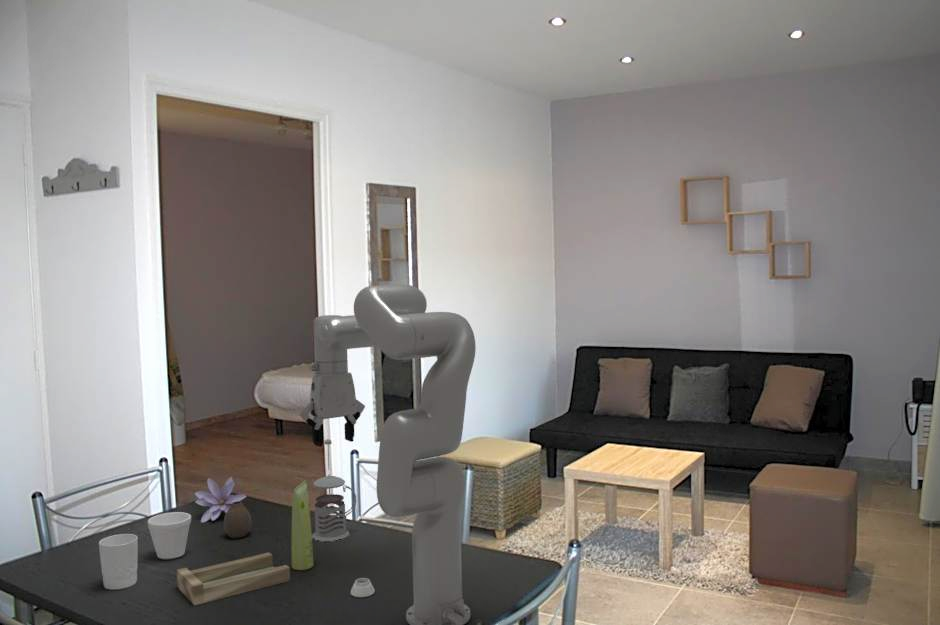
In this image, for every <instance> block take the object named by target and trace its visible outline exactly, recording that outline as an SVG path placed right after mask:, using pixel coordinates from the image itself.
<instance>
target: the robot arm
mask: <svg viewBox="0 0 940 625" xmlns="http://www.w3.org/2000/svg"><path fill="white" fill-rule="evenodd" d="M427 307H428V304H427V298H426V296H425V294H424V292H422V291H421V290H420V289H419V288H418V287H416V286H413V285H410V284H404V283H403V284H402V283H401V284H400V283H399V284H381V285H380V284H378V285H368V286H365V287H363V288H362V289H361V290H360V291H359V292H358V293H357V295H356V296H355V299H354V302H353V314H354V315H353V314H352V315H343V316H342V315H339V314H337V315H336V314H334V315H333V314H329V315H327V314H325V315H320V316H316V317H315V319H314V320H313V338H314V341H313V342H314V361H313V364H310V366H309V370H310V372H314V374H313V375H312V379H311V386H310V394H309V395H310V396H309V403H308V404H307V405H306V406H305V407H303V409H302V410H301V411H300V412H299V416H300V418H301V419H302V420H303V421H304V422H305V423H306V425H308V426H309V427H310V428H311V431H312V435H311V436H312V442H313V444H314V446H317V447H319V448H320V447H322V446H323V445H324V444H323V430H322V429H321V426H322V424H323V422H324V420H326V419H327V420H328V419H335V418H336V419H337V418H341V417H343V418H344V420H345V421H346V422H345V423H344V440H346V441H348V442H351V443H352V442H354V437H355V425H356V423H357V421H358V420H359V418H360V417H361V414H362V413H363V411H364V410H365V408H366V406H365V404H364V403H362V402H361V401H359V400H358V399H357V397H356V396H357V394H356V387H355V383H354V382H355V381H354V379H353V375H352V373H351V372H349V365H348V364H349V362H348V350H350V349H363V348H373V347H377V348H378V349H379V350H380V351H381V352H382V353H383V355H385V356H387V357H388V358H389V359H392V360H396V361H397V360H398V361H404V360H412V359H414V360H415V359H423V358H431V357H436V361H435V362H434V363H433V364H432V365H431V367H430V368H429V370H428V371H427V373H426V376H424V379H423V382H422V385H421V386H422V387H421V397H420V403H419V405H418V406H417V407H416V408H412V409H411V408H410V409H406V410H405V409H404V410H399V411H397V412H393V413H392V414H391V415H389V416H388V417H387V419H386V420H385V421H384V423H383V425H382V428H381V430H380V431H381V432H380V437H379V447H378V461H377V462H378V463H377V470H376V471H377V473H376V497H377V502H378V505H379V507H380V509H381V510H382V511H383V513H384V514H385V515H387V516H389V517H393V518H398V517H399V518H401V517H406V516H409V515H415V514H416V516H415V519H414V521H413V526H412V528H411V529H412V531H411V541H412V542H411V543H412V545H411V546H412V547H411V550H412V553H411V555H412V582H413V583H412V586H413V589H412V590H413V591H412V592H413V593H412V594H413V605H411V606H409V608H408V609H407V610H406V612H405V619H406V622H407V624H409V625H465V624H467V623H468V622H469V621H470V618H471V609H470V607H469V606H468V605H467V604H465V601H464V600H465V599H463V582H462V581H463V577H462V570H463V569H462V507H463V501H464V496H465V491H466V477H465V472H464V470H463V468H462V466H461V465H460V463H459V462H458V461H456V460H454V459H453V458H451V457H450V458H449V457H446V455H448V454H452V453H453V452H456V451H457V450H458V449H459V447H460V445H461V443H462V442H461V441H462V439H463V437H462V436H463V430H464V422H465V412H466V403H467V391H468V385H469V382H470V377H471V373H472V370H473V366H474V362H475V359H476V358H475V357H476V348H477V347H476V338H475V333H474V330H473V329H472V326H471V324H470V323H469V321H468V320H467V319H466V318H465V317H464V316H462V315H461V314H459V313H455V312H452V311H451V312H450V311H449V312H448V311H433V312H431V311H430V312H429V311H428V312H426V311H427ZM309 414H310V415H311V416H312V417H313V418H311V417H310V416H309Z"/></svg>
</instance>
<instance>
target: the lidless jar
mask: <svg viewBox="0 0 940 625" xmlns="http://www.w3.org/2000/svg"><path fill="white" fill-rule="evenodd" d="M375 591H376V590H375V588H374V586H373V584H372V582H371V580H370V579H369V578H367V577H361V578H359V577H358V578H357V579H355V580H354V583H353V585H352V587H351V590H350V595H351V596H353V597H355V598H366V597H367V598H368V597H370V596H372V595H373V594H375Z"/></svg>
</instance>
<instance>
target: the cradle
mask: <svg viewBox="0 0 940 625" xmlns="http://www.w3.org/2000/svg"><path fill="white" fill-rule="evenodd" d="M290 568H291V567H290V566H288V565H287V564H284V565H281V566H276V567H275V566H274V564H273V554H272V553H271V552H265V553H261V554H257V555H252V556H248V557H244V558H243V557H242V558H239V559H235V560H232V561H226V562H222V563H218V564H214V565H209V566H205V567H201V568H196V569H193V570H189V568H187V567H182V568H178V569H176V586H177V587H176V588H178V589H179V591H180V592H181V593H182V594H183V595H184V596H185V597H186V599H187V600H189V601H190V602H191V604H193V606H198V605H201V604H205V603H206V604H207V603H210V602H213V601H214V602H215V601H217V600H222V599H225V598H229V597H233V596H237V595H240V594H245V593H248V592H253V591H256V590H260V589H264V588H268V587H272V586H276V585H279V584H283V583H287V582H291V569H290Z"/></svg>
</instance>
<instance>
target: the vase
mask: <svg viewBox="0 0 940 625" xmlns="http://www.w3.org/2000/svg"><path fill="white" fill-rule="evenodd" d="M230 506H231V507H230V508H229V510H228V511H227V513H225V515H224V517H223V518H224V519H223V529H224V531H225V533H226V534H227V535H226V536H228V537H229V538H231V539H241V537H242V538H244V537H246V536H247V535H248V534H249V532H250V531H251V528H252V516H251V514H250V512H249V510H248V509H247V507H246V506H244V504H243V502H242V501H236V502H233V503H232V504H230Z"/></svg>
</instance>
